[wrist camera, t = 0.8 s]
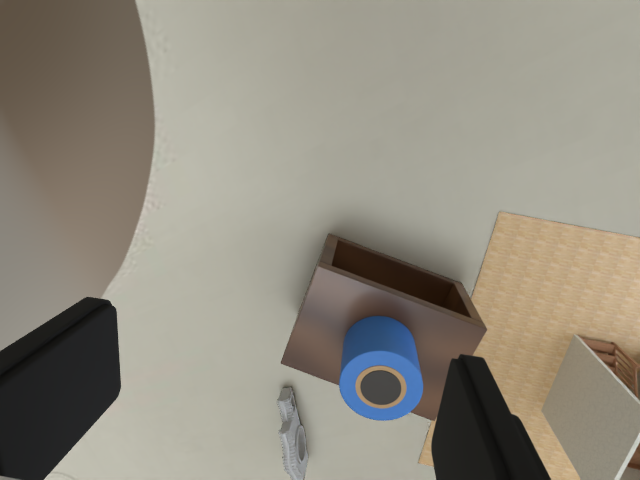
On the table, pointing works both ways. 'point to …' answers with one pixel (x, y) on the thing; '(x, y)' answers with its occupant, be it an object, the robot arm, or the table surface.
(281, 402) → the lattice window wall
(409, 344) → the tape
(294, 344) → the brown boxy piece
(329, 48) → the table surface
